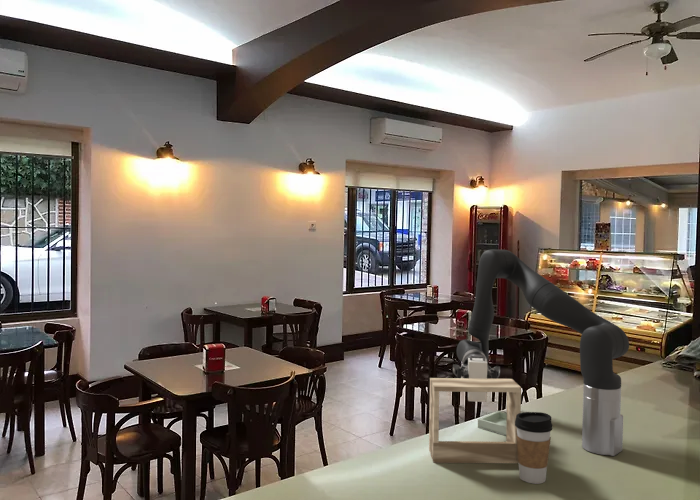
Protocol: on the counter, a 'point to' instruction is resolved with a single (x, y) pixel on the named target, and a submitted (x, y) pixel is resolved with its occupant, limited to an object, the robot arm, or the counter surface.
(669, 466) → the counter surface
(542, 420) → the coffee cup
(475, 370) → the caddy
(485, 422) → the tray
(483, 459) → the frame
